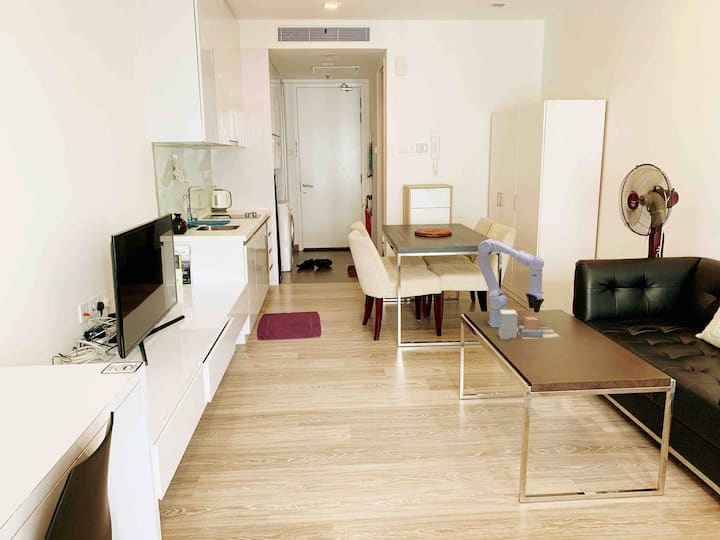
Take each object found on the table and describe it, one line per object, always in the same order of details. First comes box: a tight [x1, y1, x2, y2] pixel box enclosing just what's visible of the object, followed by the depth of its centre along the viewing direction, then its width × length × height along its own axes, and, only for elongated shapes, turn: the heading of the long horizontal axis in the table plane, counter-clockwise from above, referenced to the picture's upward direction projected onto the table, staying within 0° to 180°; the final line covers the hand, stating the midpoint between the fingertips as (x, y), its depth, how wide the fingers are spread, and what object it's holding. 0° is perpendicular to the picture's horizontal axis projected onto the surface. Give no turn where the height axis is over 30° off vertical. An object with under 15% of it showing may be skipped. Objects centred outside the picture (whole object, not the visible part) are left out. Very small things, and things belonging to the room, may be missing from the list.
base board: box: [517, 325, 563, 340], centre depth 265 cm, size 18×18×4 cm
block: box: [523, 316, 539, 330], centre depth 261 cm, size 5×5×5 cm
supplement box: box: [498, 309, 519, 340], centre depth 260 cm, size 7×7×13 cm
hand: (533, 310), depth 269 cm, fingers open, 7 cm apart
